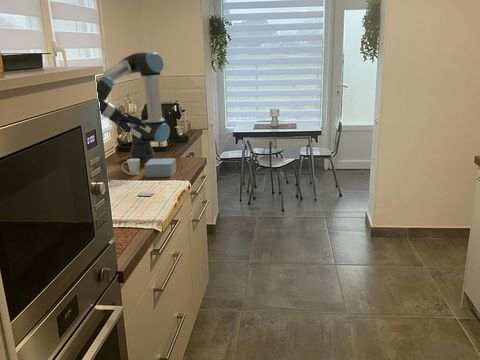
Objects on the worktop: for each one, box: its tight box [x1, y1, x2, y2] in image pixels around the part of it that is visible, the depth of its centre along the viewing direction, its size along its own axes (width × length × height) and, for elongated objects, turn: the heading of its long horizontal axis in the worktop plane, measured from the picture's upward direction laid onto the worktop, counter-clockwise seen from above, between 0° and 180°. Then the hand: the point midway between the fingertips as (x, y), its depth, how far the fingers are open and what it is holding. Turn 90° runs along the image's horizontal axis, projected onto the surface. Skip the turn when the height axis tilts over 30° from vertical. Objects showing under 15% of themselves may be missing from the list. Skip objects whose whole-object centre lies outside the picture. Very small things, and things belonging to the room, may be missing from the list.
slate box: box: [143, 157, 177, 178], centre depth 246 cm, size 15×14×7 cm
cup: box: [121, 158, 141, 176], centre depth 246 cm, size 7×10×8 cm
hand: (145, 133), depth 254 cm, fingers open, 13 cm apart
